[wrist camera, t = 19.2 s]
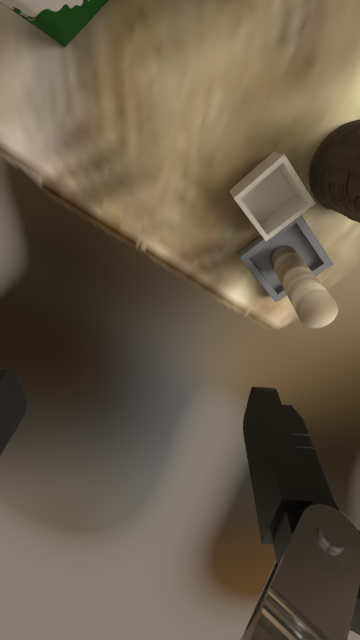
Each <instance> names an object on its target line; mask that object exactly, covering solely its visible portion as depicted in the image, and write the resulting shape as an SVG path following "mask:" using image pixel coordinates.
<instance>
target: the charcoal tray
mask: <svg viewBox="0 0 360 640" xmlns="http://www.w3.org/2000/svg"><path fill="white" fill-rule="evenodd" d="M284 245H287V246H291V247H293V248H294V249H295V251H296V252H297V253H298V254H299V256H300V257H301V258H302V260H303V261H304V262H305V263H306V265H307V266H308V267H309V269H310V270H311V271H312V272H313V274H314V275H315V276H317V275H318V274H320V273H321V272H323V271H324V270H326V269H327V268H329V267H330V266H332V265H333V263H332V261H331V260H330V258H329V257H328V255H327V254H326V252H325V250H324V249H323V247H322V246H321V244H320V243H319V241H318V240H317V238H316V237H315V235H314V234H313V232H312V231H311V229H310V228H309V226H308V225H307V223H306V222H305V220H304V219H303V217H302V216H301V215H300V216H299V217H298V218H296V219H295V220H294V221H292V222H291V223H290V224H288V225H287V226H286V227H284V228H283V229H282V230H281V231H279V232H278V233H277V234H275V235H274V236H273V237H271V238H270V239H269V240H267V241H265V239H264V238H263V237H262V235H261V234H260V235H259V236H258V237H257V238H255V239H254V240H253V241H251V242H250V243H249V244H248V245H246V246H245V247H244V248H242V249H241V250H240V251H239V252H238V255H239V258H240V259H241V260H242V262H243V263H244V264H245V265H246V266H247V268H248V269H249V270H250V271H251V273H252V274H253V275H254V276H255V277H256V279H257V280H258V281H259V282H260V284H261V285H262V286H263V287H264V289H265V290H266V291H267V292H268V293H269V295H270V296H271V297H272V298H273V300H274V301H275V302H277V301H279V300H280V299H282V298H283V297H285V296H286V295H287V294H286V292H285V290H284V288H283V286H282V284H281V282H280V280H279V278H278V277H277V275H276V273H275V271H274V269H273V267H272V265H271V263H270V257H271V254H272V252H273V251H274V250H275V249H276V248H278V247H280V246H284Z"/></svg>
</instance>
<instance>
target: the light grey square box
mask: <svg viewBox="0 0 360 640" xmlns="http://www.w3.org/2000/svg"><path fill="white" fill-rule="evenodd" d="M229 192H230V193H231V195H232V196H233V198H234V199H235V201H236V202H237V203H238V205H239V206H240V207H241V209H242V210H243V211H244V213H245V214H246V215H247V217H248V218H249V219H250V221H251V222H252V223H253V225H254V226H255V227H256V229H257V230H258V231H259V233H260V234H261V235H262V237H263V238H264V239H265V241H267V240H269V239H270V238H271V237H273V236H274V235H275V234H277V233H278V232H279V231H281V230H282V229H283V228H284V227H286V226H287V225H288V224H290V223H291V222H292V221H294V220H295V219H296V218H298V217H299V216H300V215H302V214H303V213H304V212H305V211H307V210H308V209H309V208H311V207H312V206H313V205H315V202H314V200H313V199H312V197H311V196H310V194H309V192H308V191H307V189H306V188H305V186H304V184H303V183H302V181H301V180H300V178H299V176H298V175H297V173H296V172H295V170H294V168H293V167H292V165H291V164H290V162H289V160H288V159H287V157H286V156H285V154H281V153H276V152H272V153H271V154H270V155H269V156H268V157H266V158H265V159H264V160H263V161H262V162H261V163H260V164H259V165H257V166H256V167H255V168H254V169H253V170H252V171H251V172H250V173H248V174H247V175H246V176H245V177H244V178H243V179H242V180H241V181H239V182H238V183H237V184H236V185H235V186H234V187H233V188H232V189H230V190H229Z"/></svg>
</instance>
